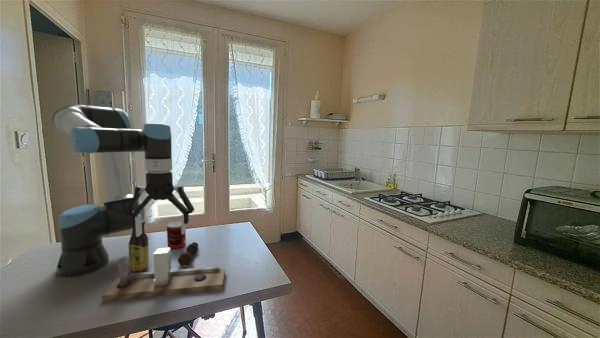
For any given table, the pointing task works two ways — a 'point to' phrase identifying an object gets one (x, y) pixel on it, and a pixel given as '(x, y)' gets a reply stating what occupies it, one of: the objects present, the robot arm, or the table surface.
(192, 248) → the bolt
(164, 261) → the block
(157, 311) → the table surface
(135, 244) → the sauce bottle
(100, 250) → the robot arm
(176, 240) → the canned food
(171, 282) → the board
